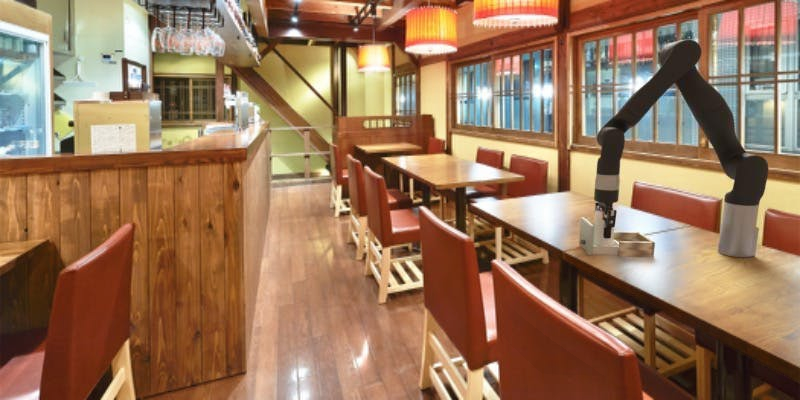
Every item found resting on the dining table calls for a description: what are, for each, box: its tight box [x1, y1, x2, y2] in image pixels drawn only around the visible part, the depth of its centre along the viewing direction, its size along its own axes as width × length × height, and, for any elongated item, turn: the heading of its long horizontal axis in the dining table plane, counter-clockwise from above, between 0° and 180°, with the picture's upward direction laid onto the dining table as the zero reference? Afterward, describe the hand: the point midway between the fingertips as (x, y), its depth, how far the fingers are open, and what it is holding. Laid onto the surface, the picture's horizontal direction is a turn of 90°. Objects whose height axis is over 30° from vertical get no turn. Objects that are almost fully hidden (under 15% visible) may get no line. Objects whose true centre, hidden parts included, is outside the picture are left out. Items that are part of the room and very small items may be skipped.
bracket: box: [578, 216, 619, 256], centre depth 156 cm, size 12×12×10 cm
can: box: [593, 209, 615, 246], centre depth 156 cm, size 6×6×12 cm
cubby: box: [614, 231, 656, 258], centre depth 156 cm, size 11×13×5 cm
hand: (603, 235), depth 156 cm, fingers closed on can, 6 cm apart
